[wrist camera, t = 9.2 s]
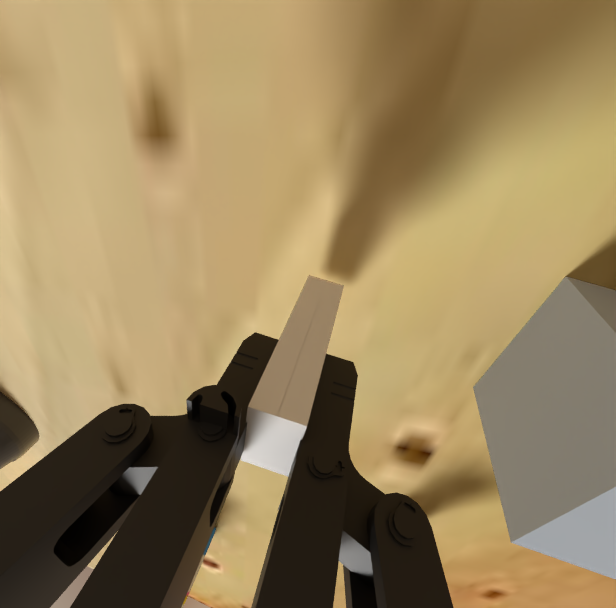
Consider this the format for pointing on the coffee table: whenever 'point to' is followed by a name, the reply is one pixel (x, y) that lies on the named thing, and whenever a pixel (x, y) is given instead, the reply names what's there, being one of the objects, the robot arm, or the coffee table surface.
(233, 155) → the coffee table surface
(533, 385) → the block
